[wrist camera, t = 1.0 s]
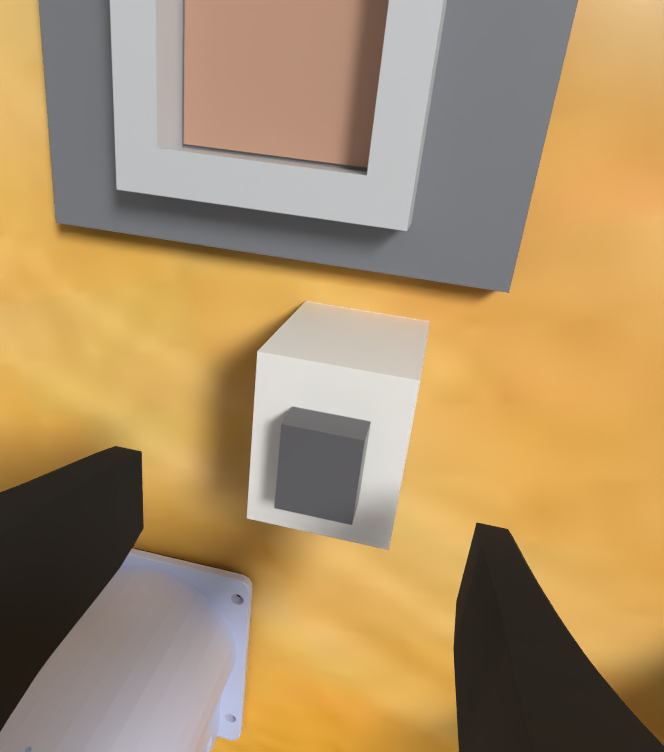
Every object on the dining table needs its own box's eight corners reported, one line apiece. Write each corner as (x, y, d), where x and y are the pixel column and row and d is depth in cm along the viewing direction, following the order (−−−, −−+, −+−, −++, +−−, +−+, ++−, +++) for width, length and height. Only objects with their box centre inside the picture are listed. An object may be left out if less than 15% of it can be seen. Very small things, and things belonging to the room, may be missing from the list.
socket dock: (506, 284, 17) (513, 306, 15) (75, 218, 19) (23, 229, 17) (633, -261, 12) (672, -351, 10) (43, -274, 14) (-35, -352, 12)
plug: (404, 457, 20) (384, 575, 15) (293, 435, 21) (233, 540, 15) (429, 320, 18) (417, 397, 13) (306, 300, 19) (243, 365, 13)
